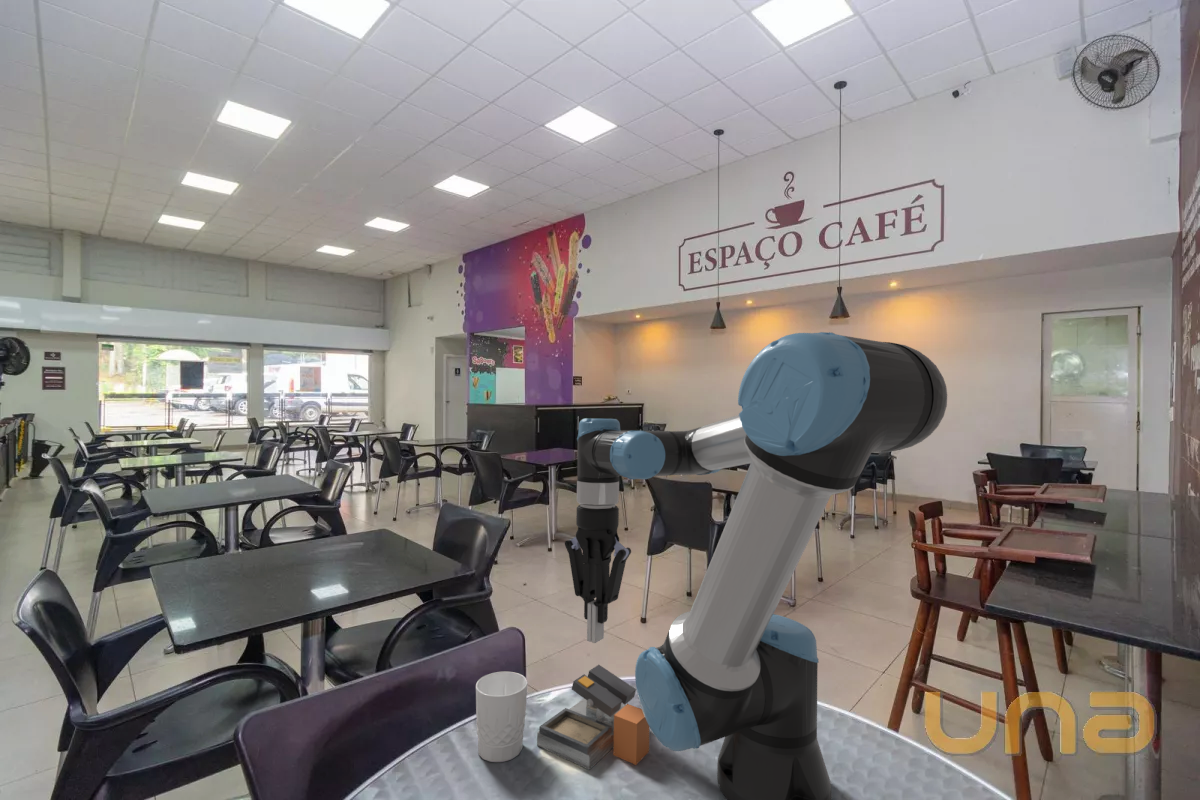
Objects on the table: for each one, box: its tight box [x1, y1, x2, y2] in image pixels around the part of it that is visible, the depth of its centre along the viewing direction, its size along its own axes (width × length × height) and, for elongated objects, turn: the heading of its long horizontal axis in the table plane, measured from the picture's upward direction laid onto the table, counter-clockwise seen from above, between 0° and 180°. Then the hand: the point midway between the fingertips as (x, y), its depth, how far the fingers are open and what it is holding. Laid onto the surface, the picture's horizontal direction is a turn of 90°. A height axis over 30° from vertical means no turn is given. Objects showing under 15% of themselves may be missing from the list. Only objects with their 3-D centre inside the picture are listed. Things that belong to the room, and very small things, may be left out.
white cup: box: [475, 671, 528, 763], centre depth 82 cm, size 8×8×10 cm
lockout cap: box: [612, 703, 650, 766], centre depth 82 cm, size 4×4×6 cm
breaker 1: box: [571, 673, 623, 717], centre depth 88 cm, size 8×3×2 cm, turn 55°
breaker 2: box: [587, 664, 637, 705], centre depth 91 cm, size 8×3×2 cm, turn 55°
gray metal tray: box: [536, 698, 627, 771], centre depth 87 cm, size 10×15×4 cm, turn 146°
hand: (595, 639), depth 94 cm, fingers closed
